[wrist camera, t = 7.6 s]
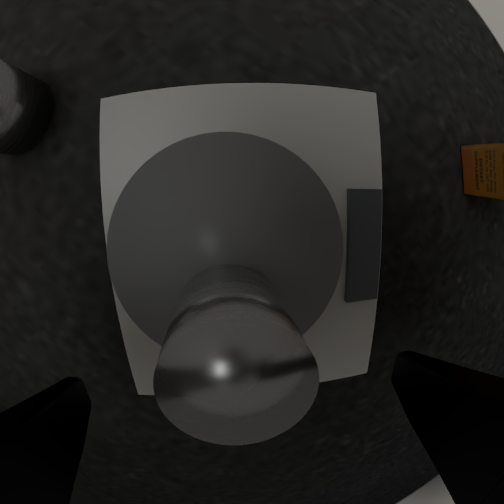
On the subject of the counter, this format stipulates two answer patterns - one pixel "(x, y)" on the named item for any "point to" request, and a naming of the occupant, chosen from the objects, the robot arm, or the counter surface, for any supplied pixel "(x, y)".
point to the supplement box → (483, 170)
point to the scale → (245, 208)
